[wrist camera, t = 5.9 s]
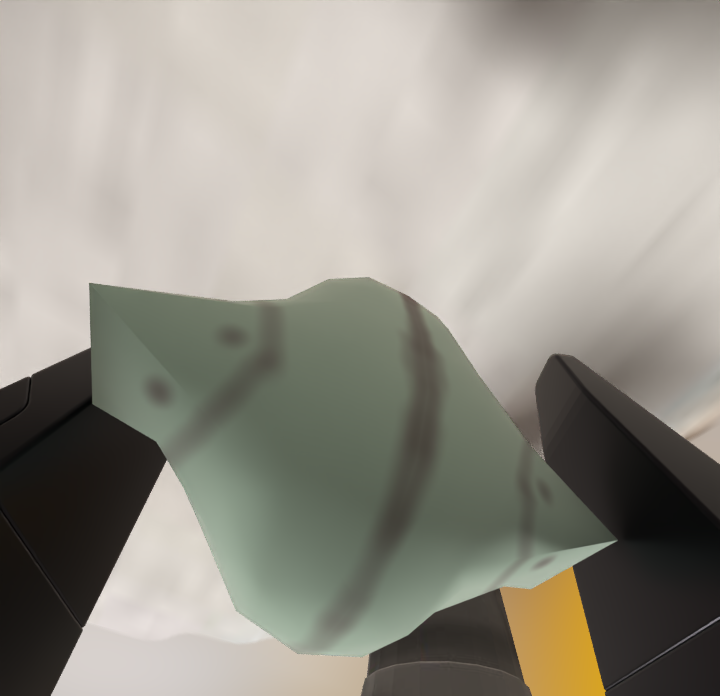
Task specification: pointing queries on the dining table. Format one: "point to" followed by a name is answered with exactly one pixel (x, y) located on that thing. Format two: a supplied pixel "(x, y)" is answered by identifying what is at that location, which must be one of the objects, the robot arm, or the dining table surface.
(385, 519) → the grey-green angular piece
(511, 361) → the dining table surface
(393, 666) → the beverage cup
